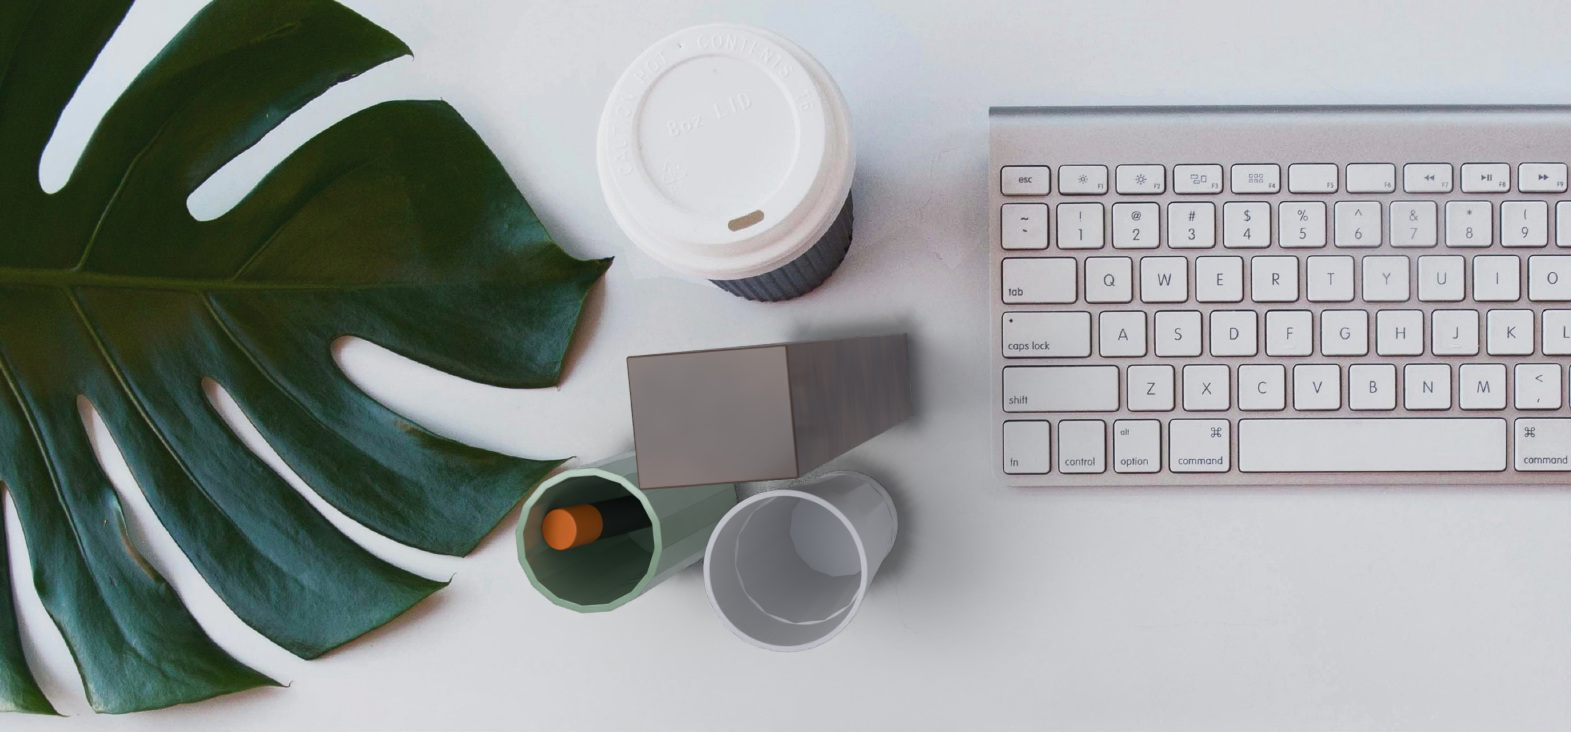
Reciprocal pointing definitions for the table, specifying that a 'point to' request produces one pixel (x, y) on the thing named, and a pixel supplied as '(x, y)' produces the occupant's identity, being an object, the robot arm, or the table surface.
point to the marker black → (594, 522)
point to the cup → (799, 559)
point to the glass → (622, 561)
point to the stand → (763, 408)
